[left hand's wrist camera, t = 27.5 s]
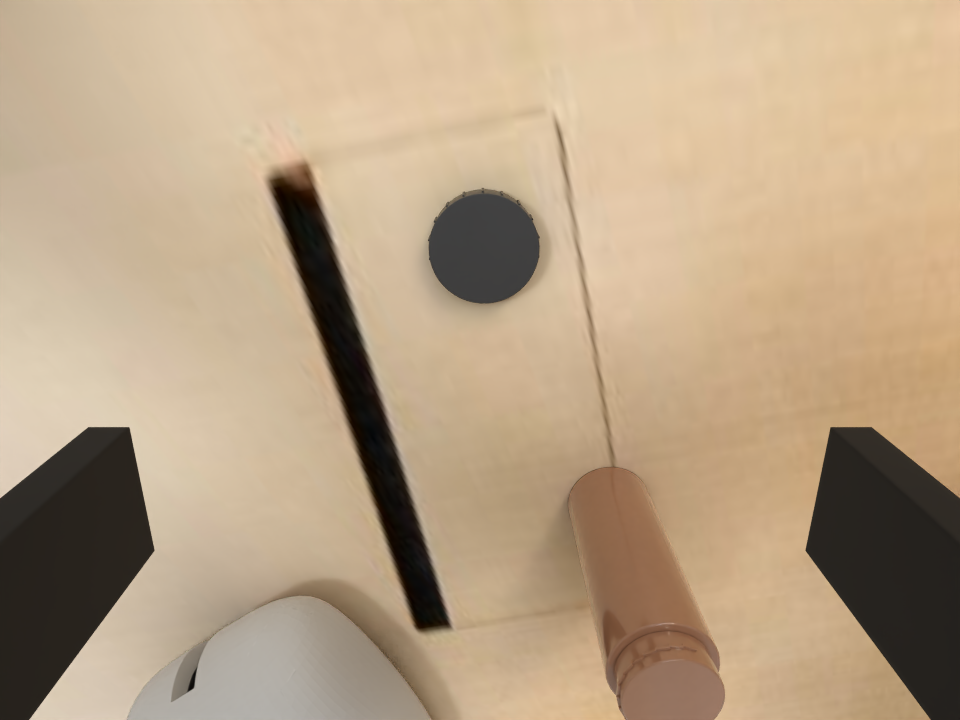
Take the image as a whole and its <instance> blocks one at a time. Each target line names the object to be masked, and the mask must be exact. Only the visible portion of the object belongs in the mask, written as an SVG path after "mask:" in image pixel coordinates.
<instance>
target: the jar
mask: <svg viewBox="0 0 960 720" xmlns="http://www.w3.org/2000/svg"><path fill="white" fill-rule="evenodd" d="M568 508H569V514H570V518H571V522H572V527H573V531H574V536H575V540H576V545H577V549H578V554H579V558H580V563H581V567H582V572H583V576H584V581H585V585H586V590H587V594H588V599H589V603H590V608H591V612H592V617H593V621H594V626H595V630H596V635H597V639H598V644H599V648H600V653H601V657H602V662H603V666H604V671H605V675H606V679H607V682H608V684H609V686H610V688H611V690H612V691H613V692H614V694H615V695H616V697H617V702H618V706H619V709H620V711H621V713H622V714H623V716H624V717H625V719H626V720H714V719H715V718H716V717H717V715H718V714H719V712H720V711H721V709H722V707H723V704H724V699H725V689H724V685H723V682H722V680H721V677H720V675H719V673H718V672H719V666H720V657H719V652H718V650H717V647H716V645H715V643H714V640H713V638H712V636H711V634H710V631H709V629H708V627H707V625H706V622H705V620H704V618H703V616H702V613H701V611H700V609H699V607H698V604H697V602H696V600H695V597H694V595H693V593H692V591H691V588H690V586H689V584H688V582H687V579H686V577H685V575H684V573H683V570H682V568H681V566H680V563H679V561H678V559H677V557H676V554H675V552H674V550H673V548H672V545H671V543H670V541H669V539H668V536H667V534H666V532H665V530H664V527H663V525H662V523H661V520H660V518H659V516H658V514H657V511H656V509H655V507H654V505H653V502H652V500H651V498H650V496H649V493H648V491H647V489H646V486H645V485H644V483H643V482H642V481H641V479H640V478H639V477H638V476H636V475H635V474H633V473H632V472H630V471H628V470H625V469H622V468H616V467H606V468H600V469H596V470H594V471H591V472H589V473H587V474H586V475H584V476H583V477H582V478H581V479H579V480H578V482H577V483H576V484H575V485H574V487H573V488H572V490H571V493H570V496H569V500H568Z"/></svg>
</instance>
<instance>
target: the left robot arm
mask: <svg viewBox="0 0 960 720" xmlns="http://www.w3.org/2000/svg"><path fill="white" fill-rule="evenodd" d="M153 552H154V546H153V541H152V536H151V531H150V526H149V521H148V516H147V512H146V507H145V502H144V497H143V492H142V487H141V482H140V477H139V472H138V467H137V462H136V458H135V453H134V448H133V443H132V438H131V433H130V428H129V427H88V428H87V429H86V430H84V431H83V432H82V433H81V434H80V435H78V436H77V437H76V438H75V439H73V440H72V441H71V442H70V443H68V444H67V445H66V446H65V447H63V448H62V449H61V450H60V451H58V452H57V453H56V454H55V455H53V456H52V457H51V458H50V459H48V460H47V461H46V462H45V463H44V464H42V465H41V466H40V467H39V468H37V469H36V470H35V471H34V472H32V473H31V474H30V475H29V476H27V477H26V478H25V479H24V480H22V481H21V482H20V483H19V484H17V485H16V486H15V487H14V488H13V489H11V490H10V491H9V492H8V493H6V494H5V495H4V496H3V497H1V498H0V720H29V719H30V718H31V716H32V715H33V714H34V712H35V711H36V710H37V708H38V707H39V706H40V704H41V703H42V702H43V700H44V699H45V698H46V696H47V695H48V694H49V692H50V691H51V690H52V688H53V687H54V685H55V684H56V683H57V681H58V680H59V679H60V677H61V676H62V675H63V673H64V672H65V671H66V669H67V668H68V667H69V665H70V664H71V663H72V661H73V660H74V658H75V657H76V656H77V654H78V653H79V652H80V650H81V649H82V648H83V646H84V645H85V644H86V642H87V641H88V640H89V638H90V637H91V636H92V634H93V633H94V632H95V630H96V629H97V627H98V626H99V625H100V623H101V622H102V621H103V619H104V618H105V617H106V615H107V614H108V613H109V611H110V610H111V609H112V607H113V606H114V605H115V603H116V602H117V601H118V599H119V598H120V596H121V595H122V594H123V592H124V591H125V590H126V588H127V587H128V586H129V584H130V583H131V582H132V580H133V579H134V578H135V576H136V575H137V574H138V572H139V571H140V569H141V568H142V567H143V565H144V564H145V563H146V561H147V560H148V559H149V557H150V556H151V555H152V553H153ZM806 552H807V553H808V555H809V556H810V557H811V559H812V560H813V561H814V563H815V564H816V565H817V567H818V568H819V569H820V571H821V572H822V574H823V575H824V576H825V578H826V579H827V580H828V582H829V583H830V584H831V586H832V587H833V588H834V590H835V591H836V592H837V594H838V595H839V596H840V598H841V599H842V601H843V602H844V603H845V605H846V606H847V607H848V609H849V610H850V611H851V613H852V614H853V615H854V617H855V618H856V619H857V621H858V622H859V623H860V625H861V626H862V627H863V629H864V630H865V632H866V633H867V634H868V636H869V637H870V638H871V640H872V641H873V642H874V644H875V645H876V646H877V648H878V649H879V650H880V652H881V653H882V654H883V656H884V657H885V658H886V660H887V661H888V663H889V664H890V665H891V667H892V668H893V669H894V671H895V672H896V673H897V675H898V676H899V677H900V679H901V680H902V681H903V683H904V684H905V685H906V687H907V688H908V690H909V691H910V692H911V694H912V695H913V696H914V698H915V699H916V700H917V702H918V703H919V704H920V706H921V707H922V708H923V710H924V711H925V712H926V714H927V715H928V716H929V718H930V719H931V720H960V498H959V497H957V496H956V495H955V494H954V493H952V492H951V491H950V490H949V489H947V488H946V487H945V486H944V485H943V484H941V483H940V482H939V481H938V480H936V479H935V478H934V477H933V476H931V475H930V474H929V473H928V472H926V471H925V470H924V469H923V468H921V467H920V466H919V465H918V464H916V463H915V462H914V461H913V460H912V459H910V458H909V457H908V456H907V455H905V454H904V453H903V452H902V451H900V450H899V449H898V448H897V447H895V446H894V445H893V444H892V443H890V442H889V441H888V440H887V439H885V438H884V437H883V436H882V435H880V434H879V433H878V432H877V431H876V430H874V429H873V428H872V427H831V428H830V433H829V438H828V443H827V448H826V453H825V458H824V462H823V467H822V472H821V477H820V482H819V487H818V492H817V497H816V502H815V507H814V512H813V516H812V521H811V526H810V531H809V536H808V541H807V546H806Z"/></svg>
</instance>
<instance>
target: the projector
mask: <svg viewBox="0 0 960 720" xmlns="http://www.w3.org/2000/svg"><path fill="white" fill-rule="evenodd" d="M127 720H432V719H431V718H430V716H429V714H428V713H427V711H426V709H425V708H424V706H423V705H422V703H421V702H420V700H419V699H418V697H417V696H416V694H415V693H414V692H413V690H412V689H411V687H410V686H409V685H408V683H407V682H406V681H405V679H404V678H403V677H402V676H401V674H400V673H399V672H398V671H397V669H396V668H395V667H394V666H393V665H392V663H391V662H390V661H389V660H388V659H387V658H386V656H385V655H384V654H383V653H382V652H381V651H380V650H379V648H378V647H377V646H376V645H375V644H374V643H373V642H372V641H371V640H370V639H369V638H368V637H367V636H366V635H365V634H364V632H363V631H362V630H361V629H359V628H358V627H357V626H356V625H355V624H354V623H353V622H352V621H351V620H350V619H349V618H348V617H346V616H345V615H344V614H343V613H342V612H340V611H339V610H338V609H336V608H335V607H333V606H332V605H330V604H329V603H327V602H325V601H323V600H321V599H318V598H315V597H312V596H292V597H287V598H283V599H279V600H276V601H273V602H270V603H268V604H266V605H263V606H261V607H259V608H257V609H256V610H254V611H252V612H250V613H248V614H246V615H245V616H243V617H241V618H240V619H238V620H236V621H234V622H233V623H231V624H229V625H228V626H226V627H225V628H223V629H221V630H220V631H218V632H217V633H216V634H215V635H214V636H213V637H212V638H211V639H210V640H209V641H205V642H202V643H200V644H198V645H196V646H195V647H193V648H191V649H190V650H188V651H187V652H185V653H184V654H182V655H181V656H179V657H178V658H176V659H175V660H173V661H172V662H171V663H169V664H168V665H167V666H165V667H164V668H163V669H161V670H160V671H159V672H158V673H157V674H156V675H155V676H154V677H152V679H151V680H150V681H149V682H148V683H147V684H146V685H145V686H144V688H143V689H142V690H141V692H140V693H139V695H138V696H137V698H136V700H135V702H134V704H133V705H132V707H131V710H130V712H129V715H128V717H127Z"/></svg>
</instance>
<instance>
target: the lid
mask: <svg viewBox="0 0 960 720" xmlns="http://www.w3.org/2000/svg"><path fill="white" fill-rule="evenodd" d="M532 220H533V218H532V216H531V214H530V215H529V214H528V213H527V211H526V210H525V208H524V207H523V206H522V205H521V204H520V202H519V200H517V201H516V200H515V199H514V198H512V197H510V196H508V195H506V194H504V193H503V191H501V192H498V191H495V190H484V188H482V190H473V191H470V192H466V193H465V192H463V194H462V195H459V196H458V197H456V198H454V199H453V200H452V201H451V202H447V204H446V206H445V207H444V208H443V210H442V211H441V212H440V214H439V216H438V217H436V218H435V220H434V223H435V224H434V226H433V229H432V232H431V235H430V237H429V239H428V241H429V260H430V262H431V265H432V268H433V270H434V273H435V275H436V277H437V278H438V280H439V281H440V282H441V283H442V285H443V286H444V287H445V288H446V289H447V290H448V291H450V292H451V293H453V294H454V295H456V296H457V297H459V298H461V299H464V300H466V301H470V302H474V303H494V302H498V301H502V300H504V299H507V298H509V297H511V296H512V295H514V294H515V293H517V292H518V291H520V290H521V289H522V288H523V287H524V286H525V285H526V283H527V282H528V281H529V280H530V278H531V276H532V275H533V273H534V271H535V268H536V265H537V262H538V258H539V235H538V233H537V231H536V228H535V226H534V224H533V221H532Z"/></svg>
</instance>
